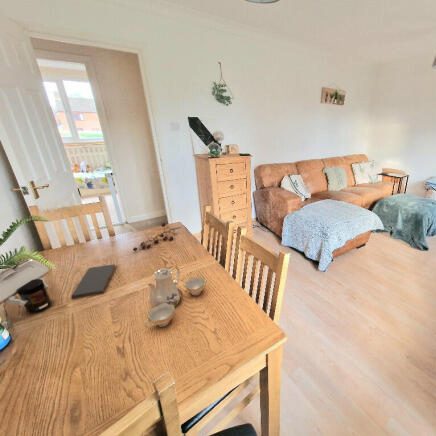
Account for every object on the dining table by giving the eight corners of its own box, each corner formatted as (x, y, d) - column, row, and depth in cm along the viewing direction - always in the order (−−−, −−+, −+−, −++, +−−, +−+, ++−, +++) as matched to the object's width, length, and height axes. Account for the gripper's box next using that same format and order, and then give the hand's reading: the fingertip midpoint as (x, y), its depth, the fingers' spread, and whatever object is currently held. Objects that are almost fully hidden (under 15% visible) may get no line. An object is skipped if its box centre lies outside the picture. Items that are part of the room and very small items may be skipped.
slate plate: (72, 298, 94) (71, 295, 93) (90, 270, 111) (89, 267, 110) (103, 293, 97) (102, 290, 97) (115, 266, 114) (114, 264, 114)
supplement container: (43, 299, 92) (34, 277, 89) (57, 303, 91) (47, 280, 87) (22, 312, 86) (10, 288, 82) (35, 316, 85) (24, 292, 81)
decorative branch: (131, 243, 123) (171, 213, 146) (129, 253, 128) (168, 222, 152) (150, 255, 124) (186, 223, 148) (147, 264, 129) (183, 232, 153)
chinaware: (166, 341, 80) (163, 303, 73) (124, 326, 83) (118, 288, 76) (211, 289, 105) (212, 257, 99) (178, 279, 108) (176, 247, 101)
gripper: (-37, 287, 72) (10, 312, 76) (30, 252, 91) (64, 274, 95) (-45, 298, 74) (1, 322, 78) (22, 262, 93) (56, 283, 97)
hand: (36, 295), depth 87 cm, fingers closed on supplement container, 6 cm apart
